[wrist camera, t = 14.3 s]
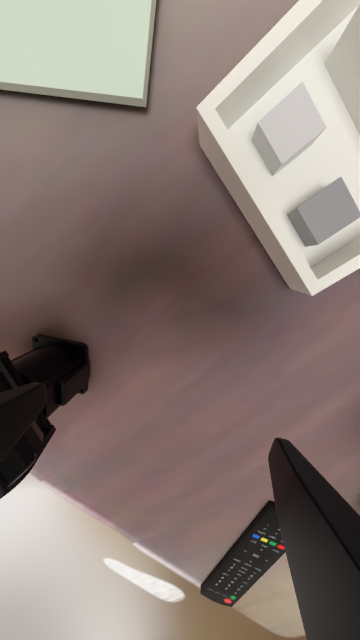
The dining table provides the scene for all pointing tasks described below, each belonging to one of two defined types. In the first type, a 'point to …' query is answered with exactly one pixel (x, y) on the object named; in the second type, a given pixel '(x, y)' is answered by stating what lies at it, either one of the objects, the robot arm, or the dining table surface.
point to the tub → (295, 141)
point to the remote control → (246, 559)
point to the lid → (78, 48)
